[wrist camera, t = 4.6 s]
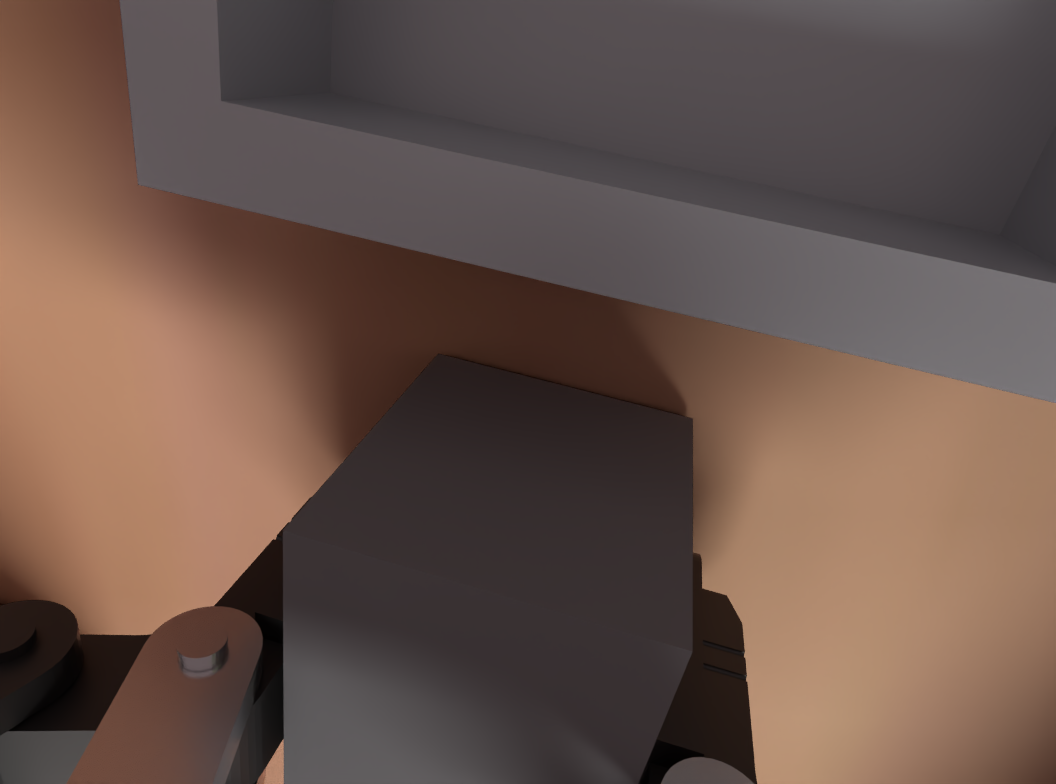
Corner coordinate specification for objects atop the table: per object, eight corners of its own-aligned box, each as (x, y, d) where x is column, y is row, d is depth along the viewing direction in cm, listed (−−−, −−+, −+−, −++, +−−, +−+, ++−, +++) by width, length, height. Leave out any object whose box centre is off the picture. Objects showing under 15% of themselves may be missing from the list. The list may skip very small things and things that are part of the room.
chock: (696, 418, 10) (698, 652, 6) (606, 686, 13) (567, 965, 9) (434, 353, 10) (278, 529, 6) (403, 624, 13) (281, 863, 9)
